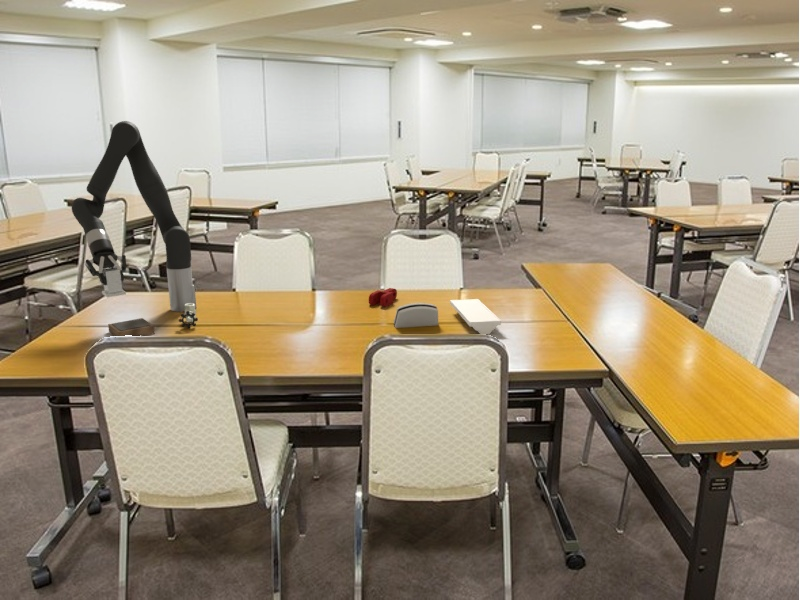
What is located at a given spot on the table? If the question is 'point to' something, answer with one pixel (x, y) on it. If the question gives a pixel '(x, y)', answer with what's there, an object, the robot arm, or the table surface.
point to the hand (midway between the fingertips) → (113, 282)
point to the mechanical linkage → (383, 297)
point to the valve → (189, 315)
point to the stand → (131, 328)
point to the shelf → (476, 315)
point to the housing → (112, 282)
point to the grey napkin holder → (416, 315)
